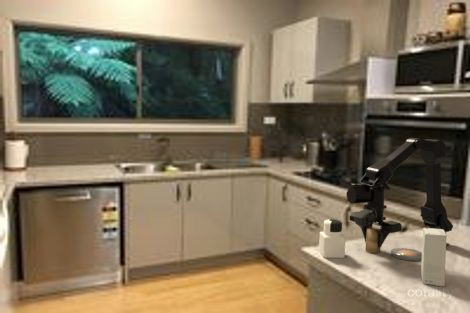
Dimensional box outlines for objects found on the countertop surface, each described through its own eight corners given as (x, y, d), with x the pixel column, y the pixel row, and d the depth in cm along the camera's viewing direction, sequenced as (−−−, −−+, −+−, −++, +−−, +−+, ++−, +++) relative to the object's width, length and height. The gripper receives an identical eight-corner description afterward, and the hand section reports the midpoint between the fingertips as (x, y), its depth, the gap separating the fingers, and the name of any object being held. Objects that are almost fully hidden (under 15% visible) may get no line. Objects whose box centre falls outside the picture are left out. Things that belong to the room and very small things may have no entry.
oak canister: (372, 247, 148) (373, 226, 147) (383, 251, 144) (384, 229, 143) (362, 249, 145) (363, 228, 144) (373, 254, 141) (374, 231, 140)
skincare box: (444, 287, 115) (448, 236, 113) (421, 283, 117) (424, 233, 115) (441, 276, 122) (445, 228, 121) (419, 273, 125) (422, 226, 123)
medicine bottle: (338, 251, 143) (340, 217, 142) (344, 258, 136) (346, 223, 135) (318, 251, 143) (320, 217, 142) (323, 258, 136) (325, 223, 135)
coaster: (404, 248, 148) (404, 246, 148) (432, 258, 138) (432, 255, 138) (383, 253, 142) (383, 250, 142) (411, 263, 133) (411, 260, 133)
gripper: (339, 199, 146) (337, 241, 148) (381, 210, 130) (378, 257, 132) (361, 196, 152) (359, 237, 154) (404, 206, 136) (401, 252, 138)
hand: (373, 245), depth 144 cm, fingers closed on oak canister, 5 cm apart
